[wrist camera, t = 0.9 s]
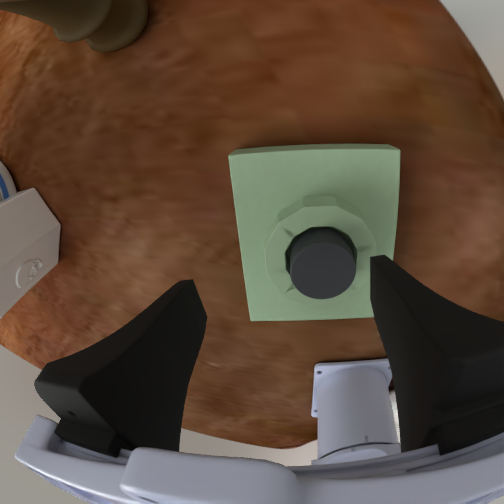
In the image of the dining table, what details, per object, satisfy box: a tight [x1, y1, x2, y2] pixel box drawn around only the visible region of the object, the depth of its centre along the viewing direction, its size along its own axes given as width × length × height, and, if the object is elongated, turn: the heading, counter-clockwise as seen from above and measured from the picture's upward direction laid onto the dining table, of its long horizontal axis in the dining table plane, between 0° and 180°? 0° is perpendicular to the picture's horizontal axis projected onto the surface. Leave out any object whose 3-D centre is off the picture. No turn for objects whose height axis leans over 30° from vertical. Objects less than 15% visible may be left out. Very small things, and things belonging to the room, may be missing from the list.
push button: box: [290, 229, 356, 299], centre depth 17 cm, size 4×4×2 cm
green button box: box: [228, 144, 400, 321], centre depth 19 cm, size 12×10×4 cm
